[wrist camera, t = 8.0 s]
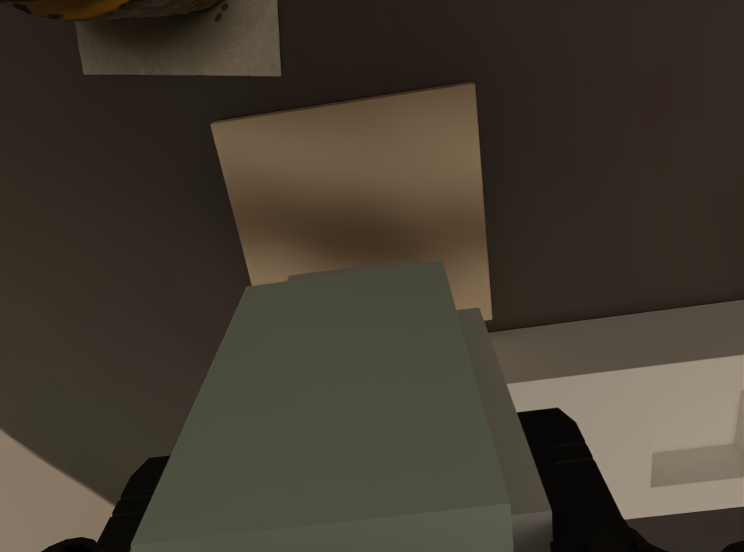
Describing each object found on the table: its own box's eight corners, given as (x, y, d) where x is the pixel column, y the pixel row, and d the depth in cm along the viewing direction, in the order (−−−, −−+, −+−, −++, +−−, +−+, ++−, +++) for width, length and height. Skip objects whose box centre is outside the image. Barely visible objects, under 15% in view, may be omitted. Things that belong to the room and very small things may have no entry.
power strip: (240, 497, 31) (221, 568, 27) (199, 369, 28) (171, 430, 24) (743, 439, 30) (800, 506, 26) (763, 297, 26) (831, 348, 22)
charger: (259, 256, 17) (125, 556, 8) (434, 232, 17) (513, 512, 7) (295, 400, 19) (222, 772, 10) (451, 380, 19) (528, 745, 9)
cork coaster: (213, 121, 23) (210, 124, 23) (472, 81, 22) (474, 83, 22) (270, 341, 27) (268, 348, 27) (489, 312, 27) (492, 319, 26)
